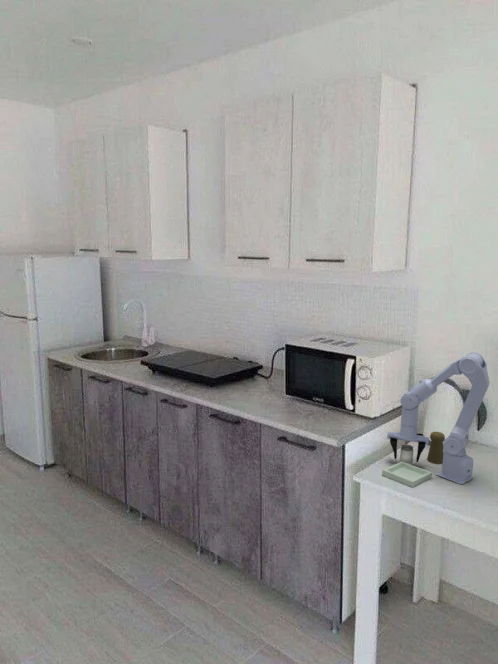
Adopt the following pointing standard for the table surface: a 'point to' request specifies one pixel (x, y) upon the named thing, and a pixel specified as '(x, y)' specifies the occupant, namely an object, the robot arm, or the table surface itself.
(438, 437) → the cork
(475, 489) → the table surface
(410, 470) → the tray
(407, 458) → the salt shaker
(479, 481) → the table surface
